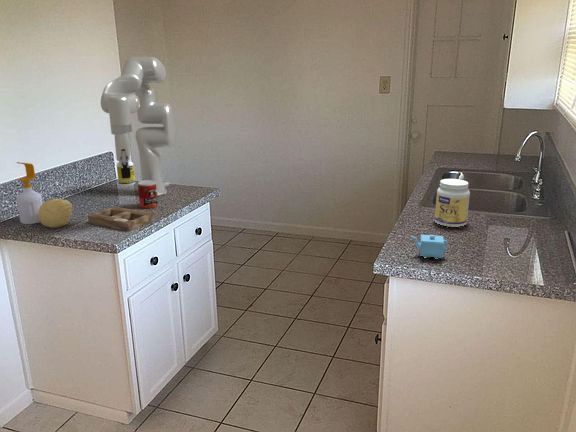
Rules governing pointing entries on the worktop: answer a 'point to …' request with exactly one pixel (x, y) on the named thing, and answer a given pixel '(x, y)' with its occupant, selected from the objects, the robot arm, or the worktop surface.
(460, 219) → the supplement tub
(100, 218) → the socket rack
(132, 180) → the pill bottle
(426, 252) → the teapot
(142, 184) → the canned food
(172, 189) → the worktop surface
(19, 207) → the soap bottle
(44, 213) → the sculpture
